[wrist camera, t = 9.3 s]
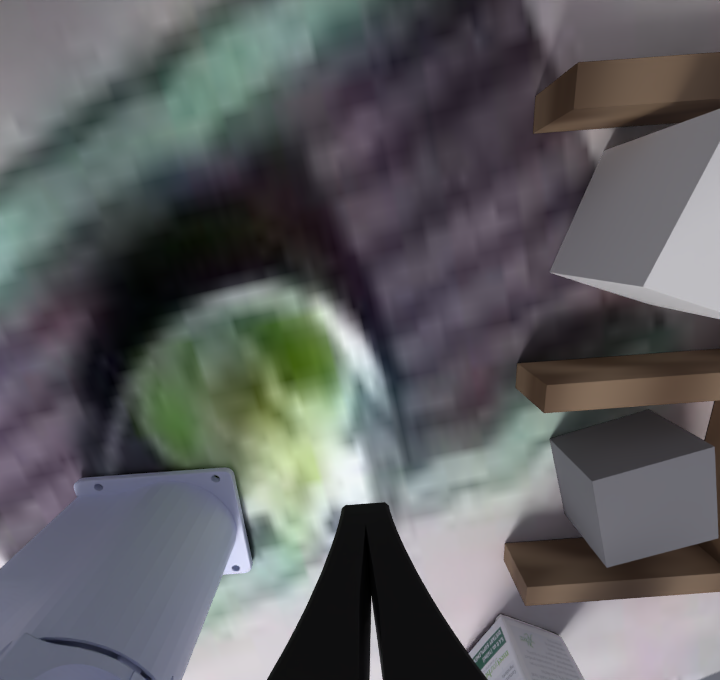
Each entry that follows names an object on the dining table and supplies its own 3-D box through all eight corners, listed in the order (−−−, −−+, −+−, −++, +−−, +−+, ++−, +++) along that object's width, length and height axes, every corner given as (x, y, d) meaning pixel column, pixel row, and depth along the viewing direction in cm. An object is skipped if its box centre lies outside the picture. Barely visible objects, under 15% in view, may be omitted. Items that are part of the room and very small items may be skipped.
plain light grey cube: (601, 151, 16) (742, 99, 10) (708, 190, 17) (897, 161, 11) (547, 272, 18) (643, 287, 12) (646, 304, 18) (783, 333, 12)
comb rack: (503, 560, 23) (530, 616, 20) (535, 96, 15) (589, 53, 12) (699, 546, 23) (760, 599, 20) (831, 74, 15) (972, 26, 12)
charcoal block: (562, 511, 22) (606, 567, 18) (547, 436, 21) (592, 481, 17) (654, 486, 22) (718, 538, 18) (646, 407, 20) (714, 446, 16)
